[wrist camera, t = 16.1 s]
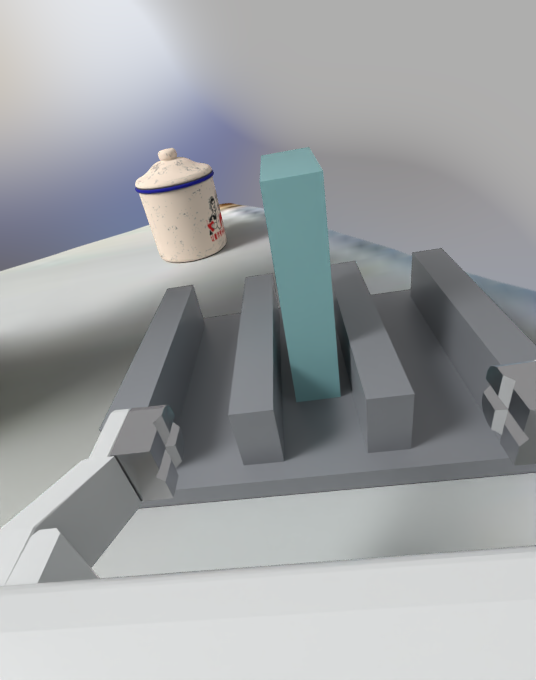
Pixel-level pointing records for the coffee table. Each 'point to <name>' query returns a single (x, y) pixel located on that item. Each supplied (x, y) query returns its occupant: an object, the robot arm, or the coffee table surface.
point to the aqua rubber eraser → (302, 268)
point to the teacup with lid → (182, 208)
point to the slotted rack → (355, 388)
